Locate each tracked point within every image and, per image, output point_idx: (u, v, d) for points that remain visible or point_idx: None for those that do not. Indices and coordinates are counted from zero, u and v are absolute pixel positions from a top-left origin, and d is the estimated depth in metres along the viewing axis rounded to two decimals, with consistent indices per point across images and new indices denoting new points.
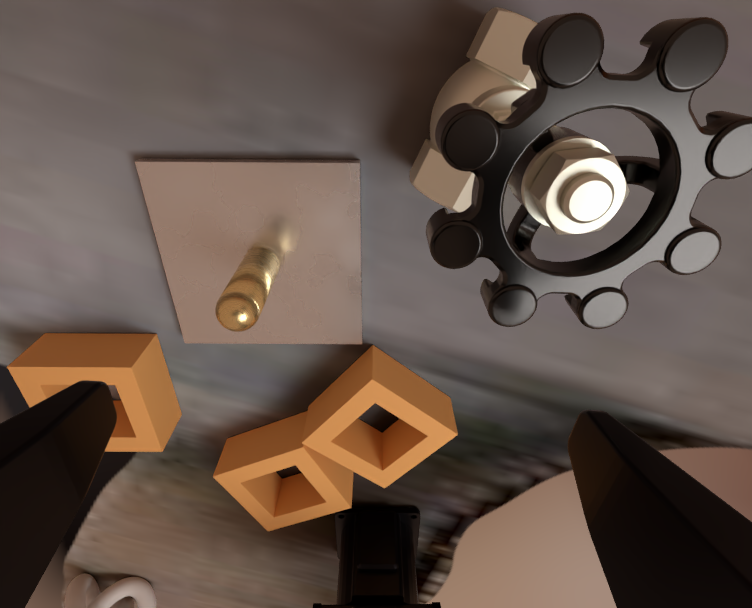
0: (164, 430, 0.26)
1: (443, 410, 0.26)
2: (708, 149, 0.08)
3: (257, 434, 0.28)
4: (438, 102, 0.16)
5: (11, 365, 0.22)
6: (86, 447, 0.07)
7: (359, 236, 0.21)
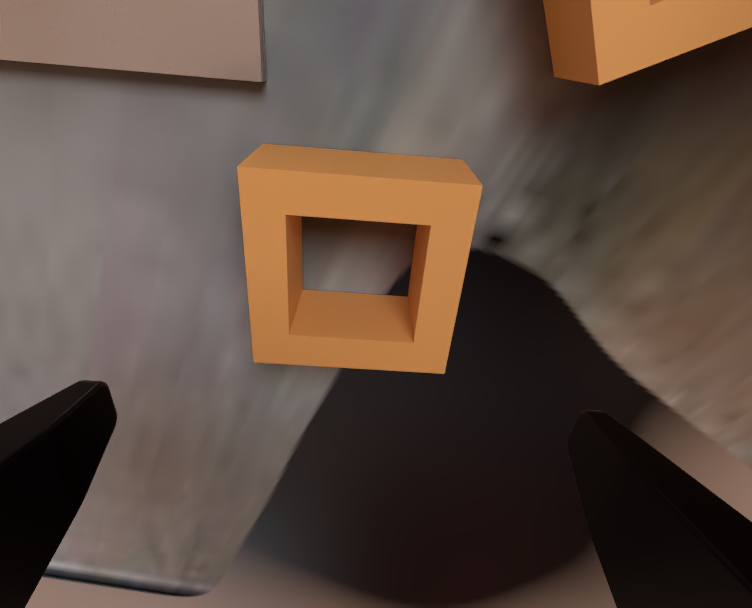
0: (445, 175, 0.12)
1: None
2: None
3: None
4: None
5: (253, 356, 0.14)
6: (86, 447, 0.07)
7: None
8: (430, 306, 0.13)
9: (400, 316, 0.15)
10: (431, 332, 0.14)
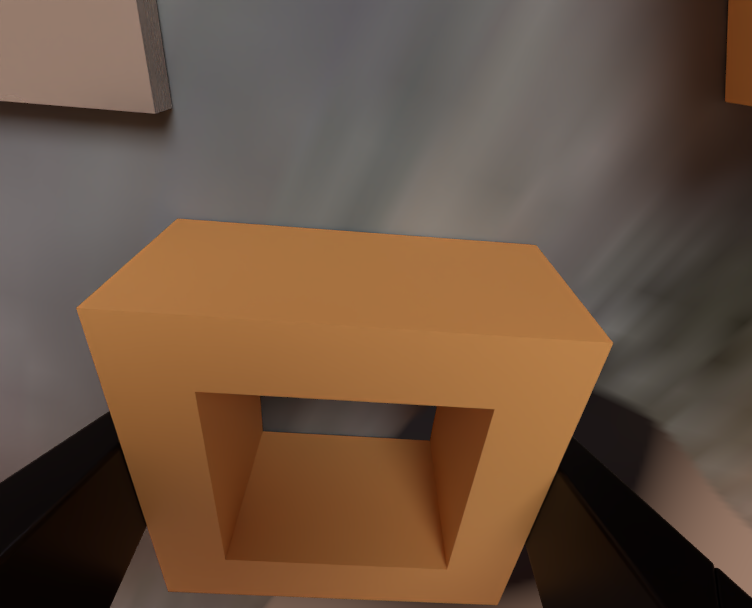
0: (522, 303, 0.06)
1: None
2: None
3: None
4: None
5: (168, 582, 0.08)
6: None
7: None
8: (481, 524, 0.07)
9: (420, 493, 0.09)
10: (480, 557, 0.08)
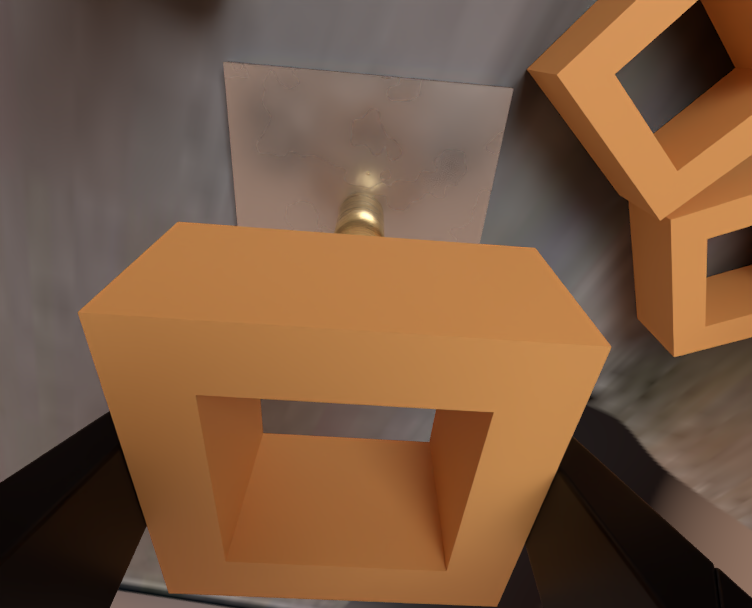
0: (521, 307, 0.06)
1: None
2: None
3: (641, 279, 0.19)
4: None
5: (168, 583, 0.08)
6: None
7: (326, 73, 0.15)
8: (481, 526, 0.07)
9: (420, 495, 0.09)
10: (479, 558, 0.08)
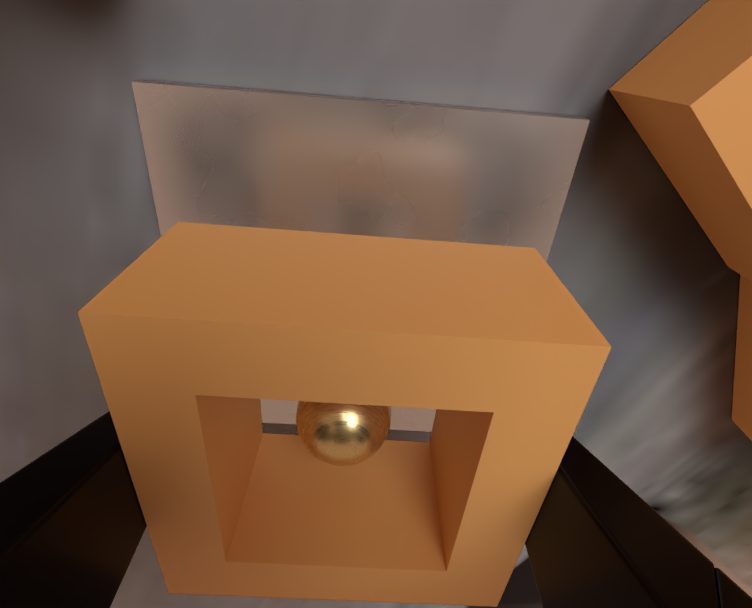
0: (521, 307, 0.06)
1: None
2: None
3: (748, 377, 0.14)
4: None
5: (168, 584, 0.08)
6: None
7: (296, 98, 0.09)
8: (481, 526, 0.07)
9: (420, 495, 0.09)
10: (479, 559, 0.08)
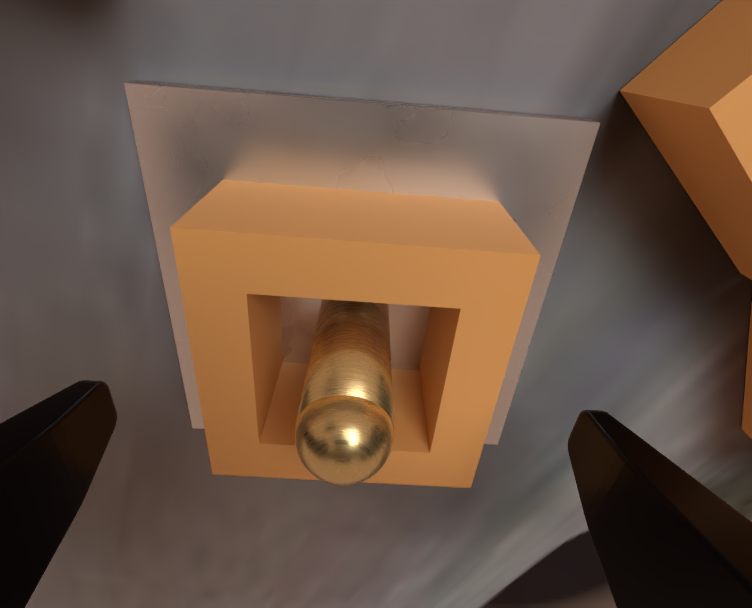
0: (481, 234, 0.08)
1: None
2: None
3: None
4: None
5: (212, 466, 0.11)
6: (86, 447, 0.07)
7: (295, 100, 0.09)
8: (455, 410, 0.10)
9: (411, 405, 0.12)
10: (455, 440, 0.10)
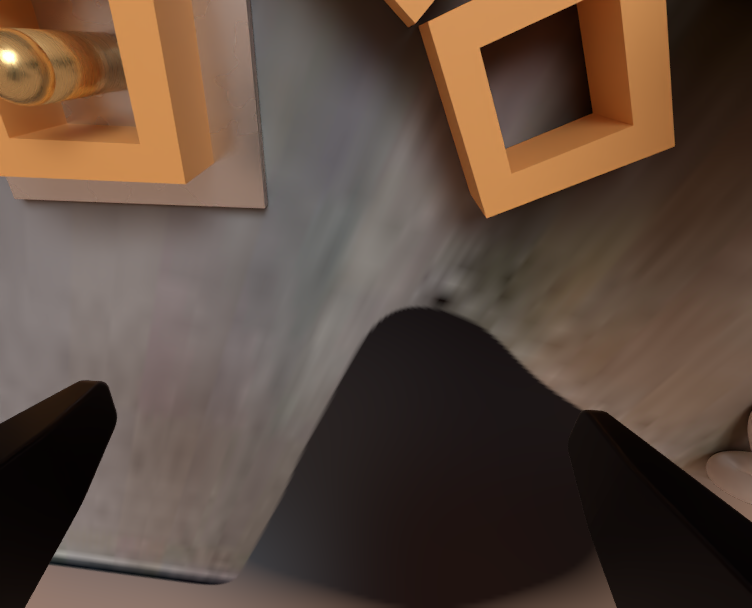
0: None
1: None
2: None
3: (454, 135, 0.16)
4: None
5: None
6: (86, 447, 0.07)
7: None
8: (141, 95, 0.13)
9: None
10: (154, 129, 0.13)
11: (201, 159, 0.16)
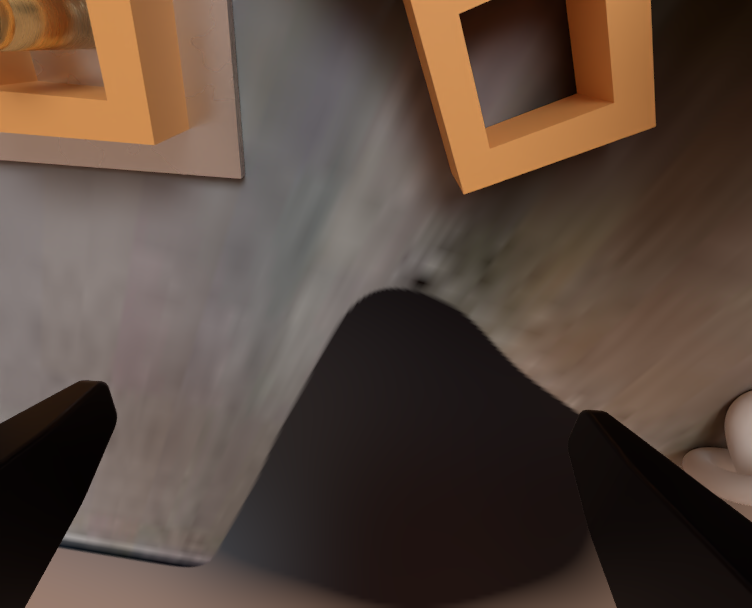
0: None
1: None
2: None
3: (435, 110, 0.16)
4: None
5: None
6: (86, 447, 0.07)
7: None
8: (108, 48, 0.13)
9: None
10: (121, 86, 0.13)
11: (174, 122, 0.15)
